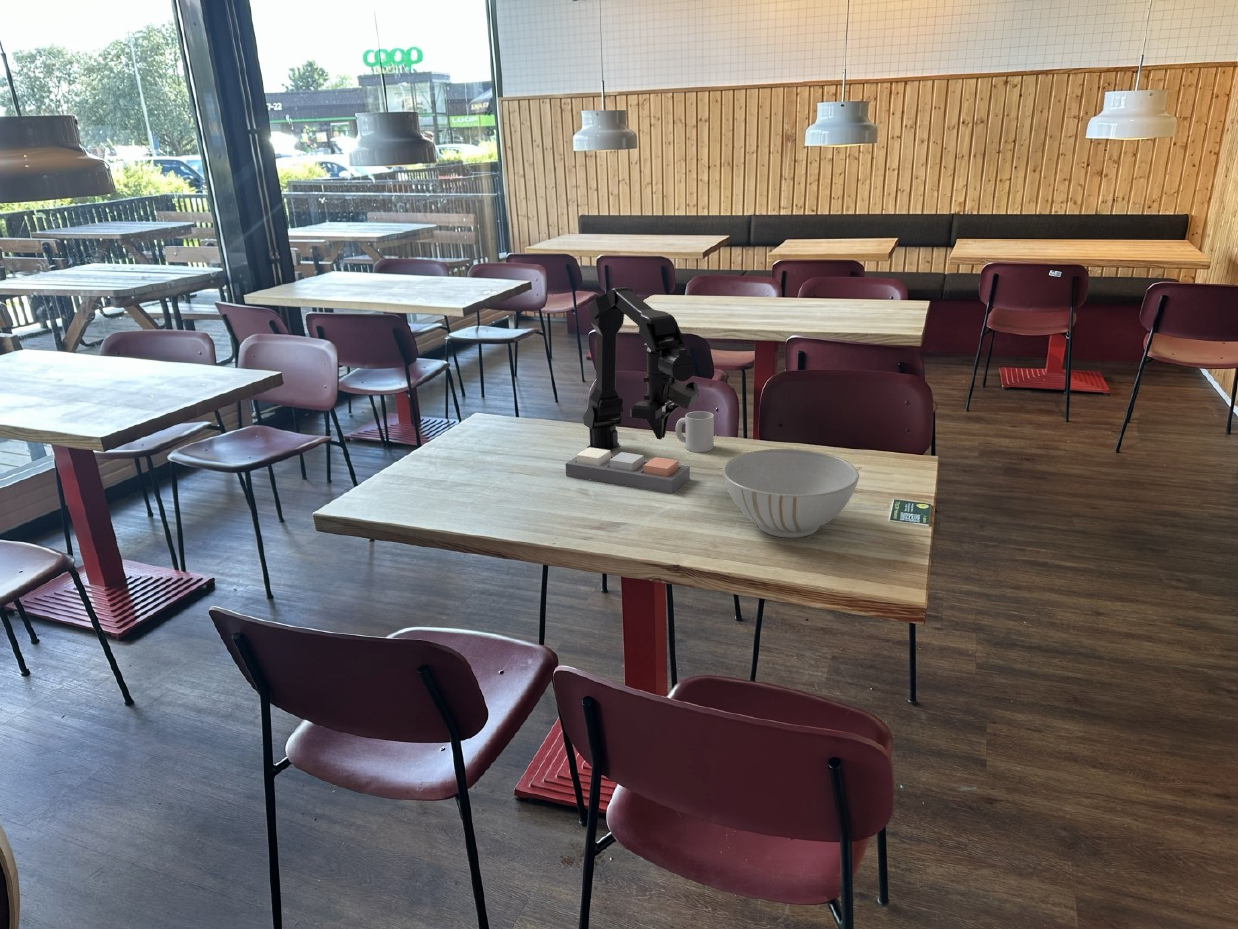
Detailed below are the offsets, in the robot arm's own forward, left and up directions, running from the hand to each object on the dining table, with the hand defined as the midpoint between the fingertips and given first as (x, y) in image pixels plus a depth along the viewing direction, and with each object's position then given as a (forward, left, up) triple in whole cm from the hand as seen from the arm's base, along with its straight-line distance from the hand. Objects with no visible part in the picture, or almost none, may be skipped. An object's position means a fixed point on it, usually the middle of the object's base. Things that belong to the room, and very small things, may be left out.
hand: (660, 438), depth 200 cm
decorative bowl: (+34, -11, -11) cm, 37 cm away
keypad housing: (-9, 0, -11) cm, 14 cm away
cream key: (-18, 0, -8) cm, 20 cm away
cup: (-3, +26, -11) cm, 28 cm away
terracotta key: (0, 0, -8) cm, 8 cm away
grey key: (-9, 0, -8) cm, 12 cm away
